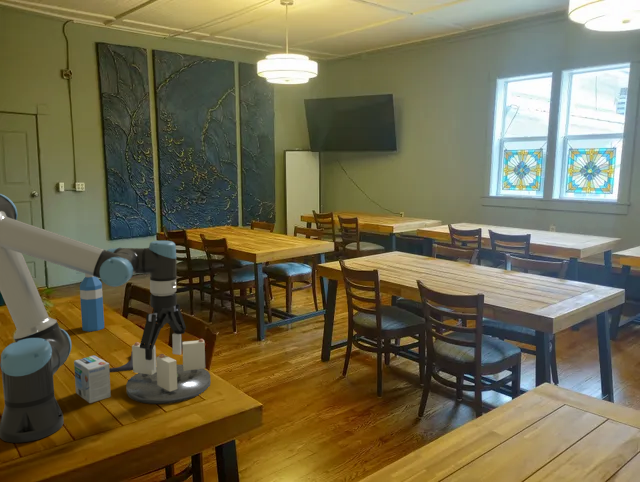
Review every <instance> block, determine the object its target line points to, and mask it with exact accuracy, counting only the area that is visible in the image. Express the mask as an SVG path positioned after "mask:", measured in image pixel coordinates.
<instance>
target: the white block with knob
mask: <svg viewBox="0 0 640 482" xmlns="http://www.w3.org/2000/svg"><path fill="white" fill-rule="evenodd" d="M177 365H178V364H177V360H176V359H174V358H172V357H170V356H168V355H165V354H164V353H160V354H159V355H157V356H156V367H157V385H158V386H160V387H162V388H164V392H170V391H173V390H176V389H177Z"/></svg>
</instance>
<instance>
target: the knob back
mask: <svg viewBox="0 0 640 482" xmlns="http://www.w3.org/2000/svg"><path fill="white" fill-rule="evenodd" d="M140 343H141V342H138V341H136V342H134V344H132V345H131V352H132V356H133V370H132V372H133V373H136V374H138V373H142V377H146V376H148V374H149V375H152V374H154V373H156V372H157V371H156V370H154V371H153V370H147V369H146V358H145V349H143V348H140ZM153 348H155V358H156V357H157V352H156V344H155V345H154V347H153Z"/></svg>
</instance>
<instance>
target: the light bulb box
mask: <svg viewBox="0 0 640 482" xmlns="http://www.w3.org/2000/svg"><path fill="white" fill-rule="evenodd" d="M73 366H74V381H75V383H74V384H75V386H74V387H75V393H76V394H77V395H78V396H79V397H80V398H82V399H83V400H85V401H86V402H87V403H89V404H93V403H96V402H98V401H101V400H105V399H108V398H111V397H112V395H111V393H112V392H111V376H110V373H111V372H109V368H110V363H109V362H107V361H105V360H104V359H102V358H100V357H98V356H97V355H89V356H87V357H83V358H80V359H76V360H74V361H73Z"/></svg>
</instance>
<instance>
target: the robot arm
mask: <svg viewBox="0 0 640 482" xmlns="http://www.w3.org/2000/svg"><path fill="white" fill-rule="evenodd" d="M18 217H19V216H18V209H17V206H16V205H15V203H14V202H13V201H12V199H11V198H9V197H8V196H6V195H4V194H3V193H0V294H1V296H2V298H3V301H4V303H5V304H6V307H7V309H8V312H9V314H10V317H11V319H12V321H13V323H14V325H15V328H16V331H15V333H14V335H13V340H14V342H12V343H9V344H8V345H7V346H6V347H5V348H4V349H3V350H2V352H1V354H0V369H1V379H2V388H3V389H2V390H3V399H4V408H3V413H2V415H1V419H0V439H1V440H2V441H3V442H7V443H13V444H14V443H16V444H18V443H28V442H34V441H38V440H42V439H43V438H46V437H49V436H51V435H53V434H55V433H56V432H57V431H59V430H60V429H61V428H62V427H63V425H64V424H65V423H64V413H63V411H62V410H61V409H62V408H61V407H60V405H59V402H58V401H57V399H56V396H55V386H54V375H55V374H56V372H57V371H58V370H59V369H60V367H62V366H63V365H64V364H65V363H66V361H67V360H68V358H69V356H70V354H71V351H72V344H73V343H72V340H71V336H70V335H69V334H68V332H67V331H66V330H65V329H63V328H60V326H59V323H58V321H57V319H54V318H52V317H49V314H48V311H47V309H46V307H45V304H44V303H43V299H42V297H41V296H40V295H41V294H40V292H39V290H38V288H37V286H36V283H35V281H34V278H33V276H32V273H31V271H30V269H29V267H28V264H27V261H26V260H25V257H24V255H25V256H29V257H32V258H36V259H38V260H42V261H45V262H48V263H51V264H55V265H57V266H61V267H64V268H67V269H70V270H72V271H75V272H79V273H83V274H84V275H85V274H88V275H91V276H94V277H97V278H98V279H99V280H100V281H102V283H104V284H105V285H107V286H109V287H114V288H116V287H121V286H123V285H125V284H126V283H127V282H128V281H130V280H131V278H132V277H133V275H140V274H141V275H146V274H149V292H150V293H151V294H150V297H149V299H150V306H151V307H152V308H153V313H147V314H146V319H145V324H144V329H143V333H142V336H141V339H140V342H139V343H140V348H143V349H145V358H146V369H147V370H153V371H154V370H156V367H157V364H156V358H155V348H156V347H155V348H153V347H154V345H155V346H156V342H157V340H158V336H159V335H160V331H161V329H162V328H164V326H165V325H166V324H168V325H169V327H170V328H171V330H172V331H173V333H172V355H179V356H180V355H182V335H184V334H185V332H186V329H187V326H186V324H185V321H184V317H183V314H182V312H181V311H182V310H181V305H180V303H178V302H177V301H178V295H177V293H176V292H177V286H178V285H177V249H176V247H177V246H176V243H175V242H174V241H172V240H153V241H151V242H149V246H148V247H145V248H140V247H135V248H133V247H116V248H114V247H112V248H108V249H107V250H106V249H103V248H100V247H97V246H95V245H92V244H89V243H85V242H83V241H79V240H77V239H73V238H71V237H68V236H65V235H62V234H59V233H56V232H54V231H50V230H47V229H43V228H41V227H38V226H35V225H32V224H28V223H26V222H22V221H20V220H18Z"/></svg>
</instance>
